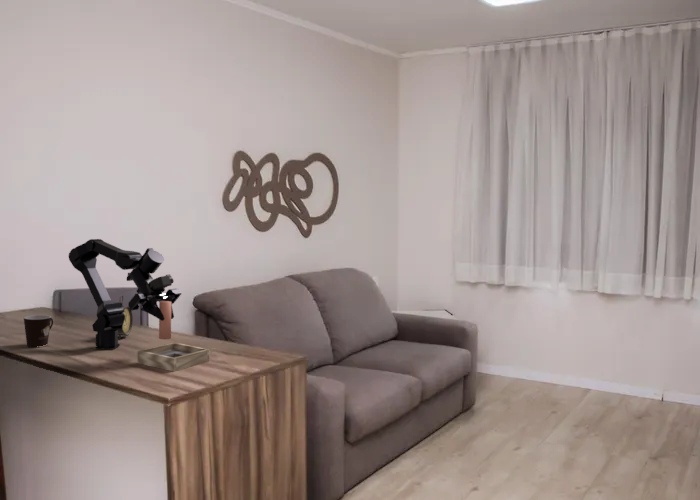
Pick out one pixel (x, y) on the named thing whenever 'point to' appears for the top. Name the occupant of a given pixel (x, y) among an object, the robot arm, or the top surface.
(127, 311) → the alarm clock
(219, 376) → the top surface
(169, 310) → the peg
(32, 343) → the coffee mug
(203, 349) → the box
